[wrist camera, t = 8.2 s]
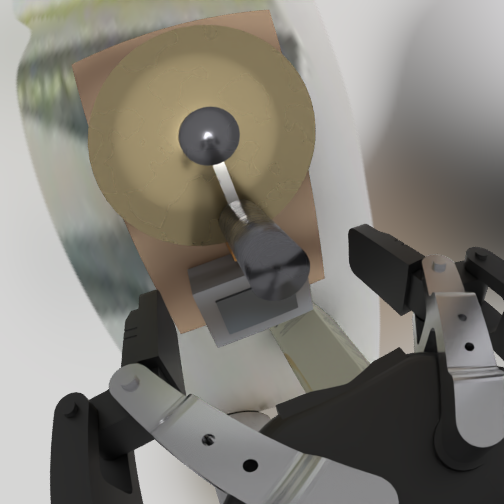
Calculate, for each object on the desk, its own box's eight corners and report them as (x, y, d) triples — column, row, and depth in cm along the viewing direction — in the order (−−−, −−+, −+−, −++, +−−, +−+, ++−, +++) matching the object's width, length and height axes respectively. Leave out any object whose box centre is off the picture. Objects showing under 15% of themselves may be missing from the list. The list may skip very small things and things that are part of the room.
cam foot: (321, 189, 19) (403, 235, 12) (153, 265, 18) (154, 357, 11) (263, 14, 12) (333, -40, 6) (67, 90, 11) (-4, 74, 5)
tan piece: (316, 269, 24) (345, 300, 20) (179, 321, 22) (185, 364, 18) (261, 16, 14) (289, -9, 10) (78, 68, 12) (52, 54, 8)
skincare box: (266, 326, 25) (328, 441, 14) (301, 292, 24) (383, 399, 14) (306, 350, 28) (365, 444, 18) (337, 321, 28) (408, 410, 17)
